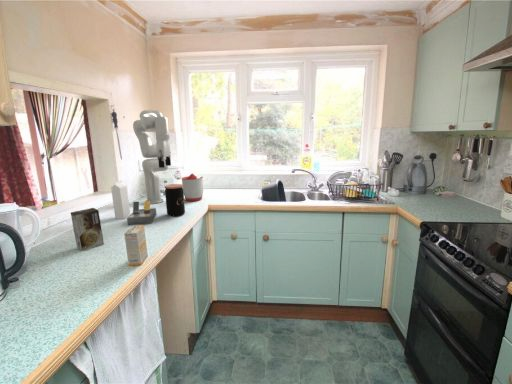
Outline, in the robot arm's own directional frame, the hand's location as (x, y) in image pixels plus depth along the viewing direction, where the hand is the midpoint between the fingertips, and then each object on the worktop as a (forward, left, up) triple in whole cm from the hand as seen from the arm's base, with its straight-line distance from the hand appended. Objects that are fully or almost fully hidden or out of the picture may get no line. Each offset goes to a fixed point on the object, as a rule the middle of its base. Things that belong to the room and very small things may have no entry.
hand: (165, 166), depth 163 cm
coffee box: (+47, -28, -29) cm, 62 cm away
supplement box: (+68, -4, -29) cm, 74 cm away
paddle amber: (+12, -11, -25) cm, 30 cm away
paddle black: (+12, -17, -25) cm, 32 cm away
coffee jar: (+6, +5, -29) cm, 30 cm away
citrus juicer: (-32, +15, -29) cm, 46 cm away
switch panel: (+12, -13, -29) cm, 34 cm away
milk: (+4, -26, -29) cm, 39 cm away
